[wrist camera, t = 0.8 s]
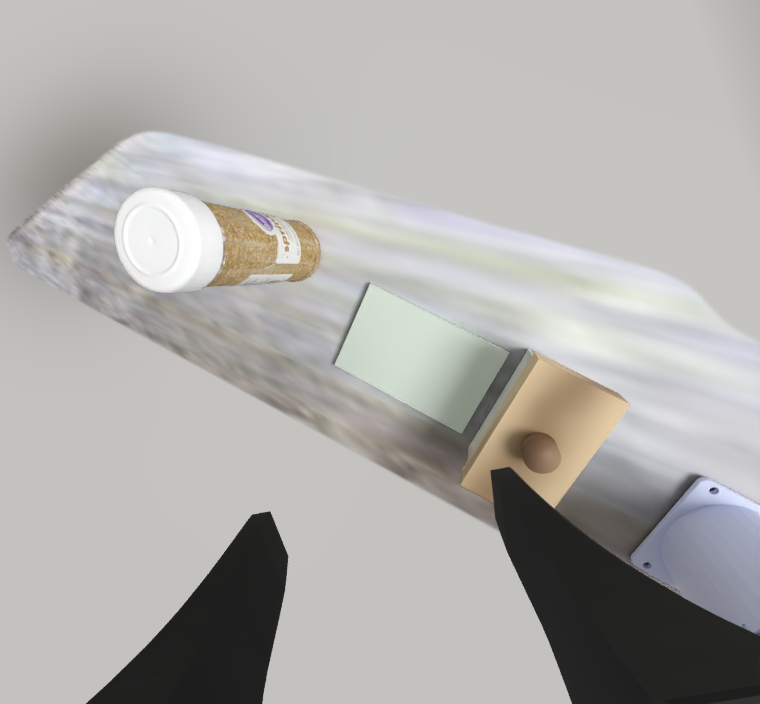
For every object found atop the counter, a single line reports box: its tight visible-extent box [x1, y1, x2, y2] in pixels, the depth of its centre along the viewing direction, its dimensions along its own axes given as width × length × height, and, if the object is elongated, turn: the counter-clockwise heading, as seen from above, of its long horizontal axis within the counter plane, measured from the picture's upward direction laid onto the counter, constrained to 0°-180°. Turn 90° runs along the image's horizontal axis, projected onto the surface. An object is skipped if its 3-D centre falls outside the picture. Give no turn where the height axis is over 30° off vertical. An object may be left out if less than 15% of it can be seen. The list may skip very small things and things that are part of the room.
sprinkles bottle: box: [114, 187, 320, 293], centre depth 23 cm, size 5×5×13 cm
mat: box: [335, 283, 509, 434], centre depth 28 cm, size 11×7×1 cm, turn 65°
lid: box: [460, 352, 630, 508], centre depth 23 cm, size 5×9×3 cm, turn 155°
